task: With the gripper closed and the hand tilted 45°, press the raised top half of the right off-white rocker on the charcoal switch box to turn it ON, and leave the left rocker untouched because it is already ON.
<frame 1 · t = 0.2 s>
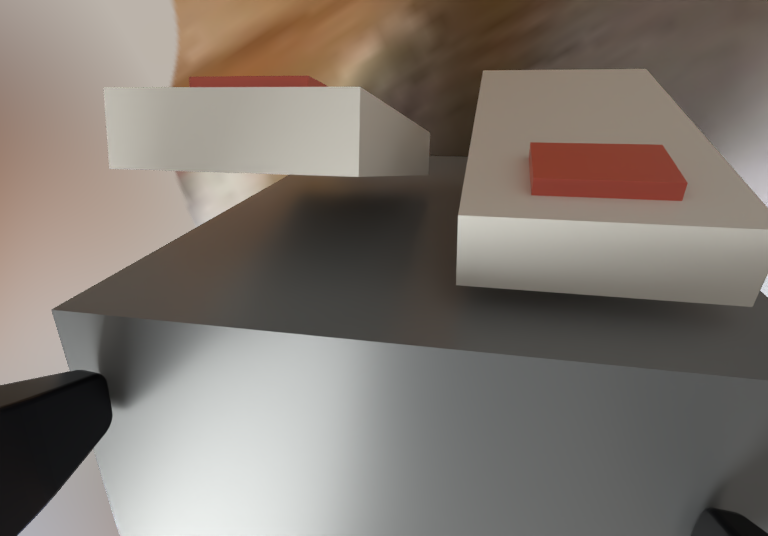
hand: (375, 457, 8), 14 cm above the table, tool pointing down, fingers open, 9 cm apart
switch box: (460, 218, 20), on the table
rocker 2: (317, 139, 11), point 9 cm above the table, hinge at -12.0°
rocker 1: (575, 144, 10), point 9 cm above the table, hinge at 12.0°
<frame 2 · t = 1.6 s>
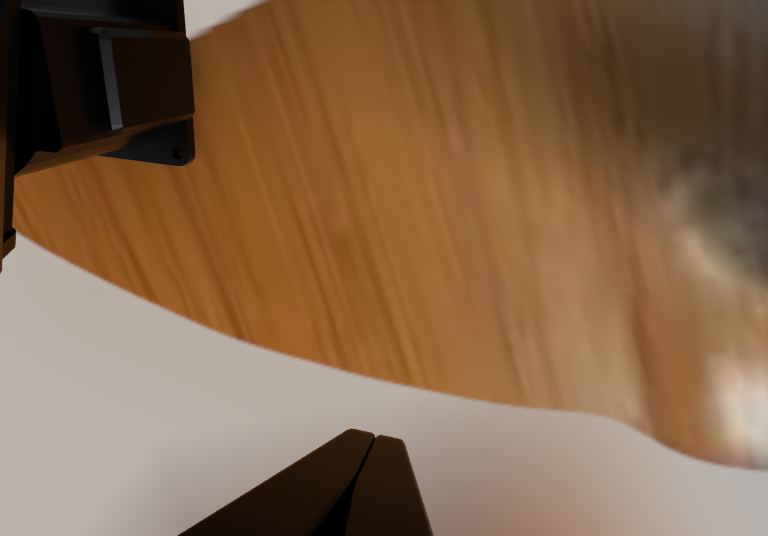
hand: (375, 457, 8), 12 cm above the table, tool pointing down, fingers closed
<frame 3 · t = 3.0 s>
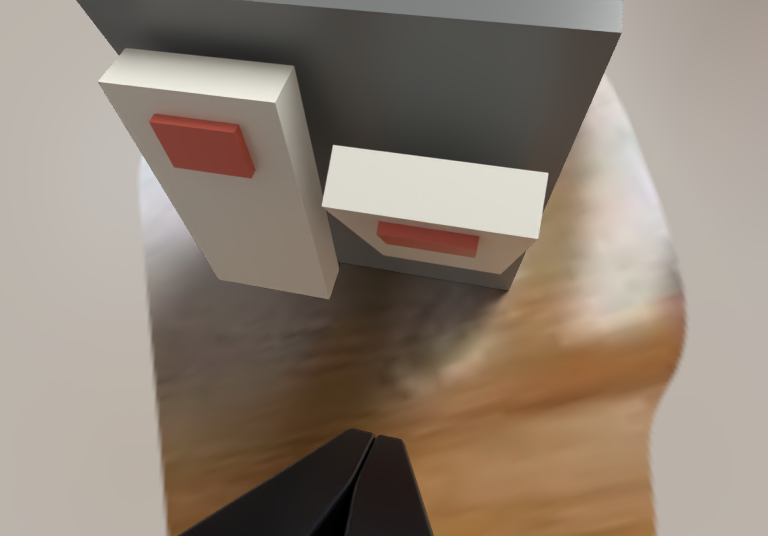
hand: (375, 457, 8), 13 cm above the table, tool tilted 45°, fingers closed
switch box: (395, 220, 23), on the table
rocker 2: (438, 232, 13), point 9 cm above the table, hinge at -16.1°
rocker 1: (245, 201, 14), point 9 cm above the table, hinge at 12.0°
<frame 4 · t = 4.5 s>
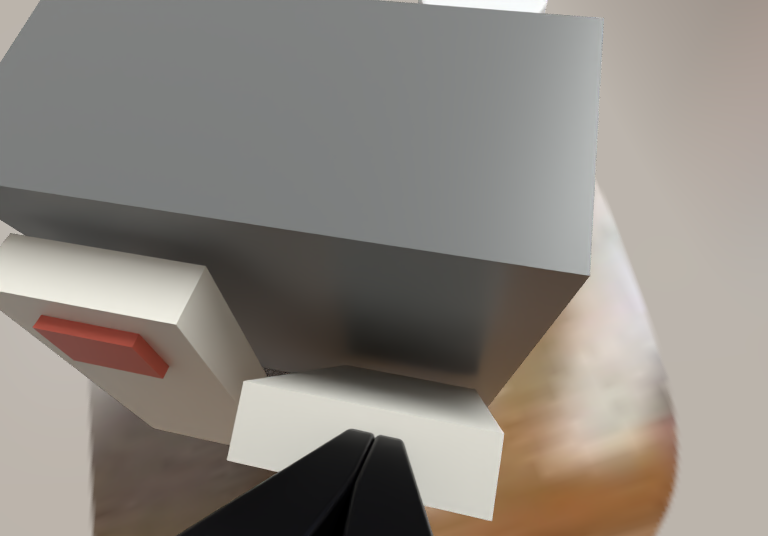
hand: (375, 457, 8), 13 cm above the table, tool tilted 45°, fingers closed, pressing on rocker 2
switch box: (362, 326, 22), on the table
rocker 2: (390, 419, 11), point 9 cm above the table, hinge at -14.4°, touching gripper
rocker 1: (170, 373, 12), point 9 cm above the table, hinge at 12.0°
supplement bottle: (461, 173, 25), on the table
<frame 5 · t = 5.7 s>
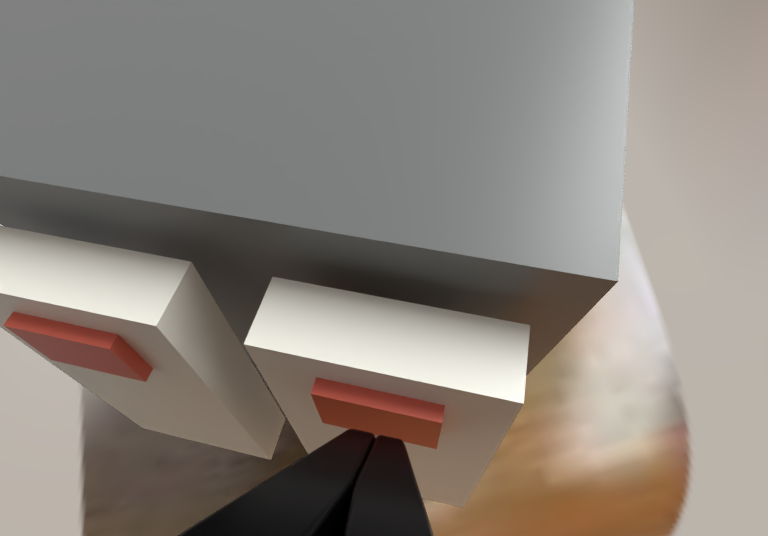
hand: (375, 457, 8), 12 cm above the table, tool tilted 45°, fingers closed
switch box: (364, 324, 21), on the table
rocker 2: (390, 427, 11), point 9 cm above the table, hinge at 12.1°
rocker 1: (157, 374, 11), point 9 cm above the table, hinge at 12.0°
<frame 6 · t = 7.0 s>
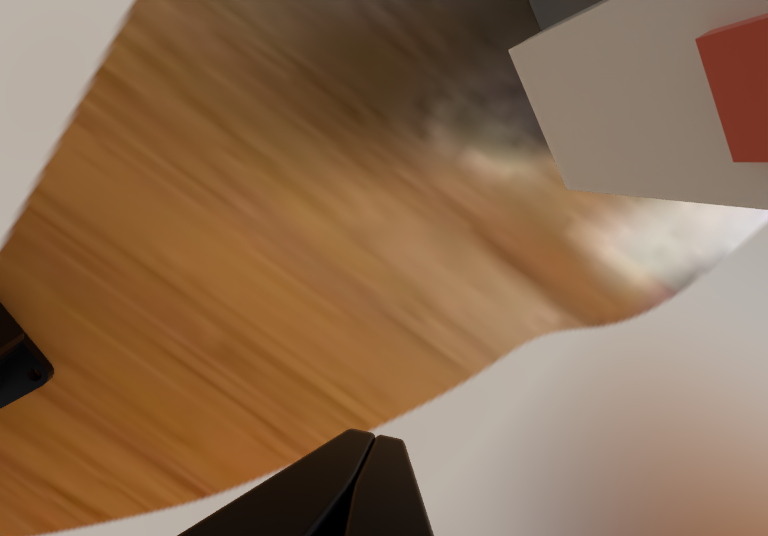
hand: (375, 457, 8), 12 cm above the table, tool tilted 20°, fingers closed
rocker 2: (663, 95, 9), point 9 cm above the table, hinge at 8.3°
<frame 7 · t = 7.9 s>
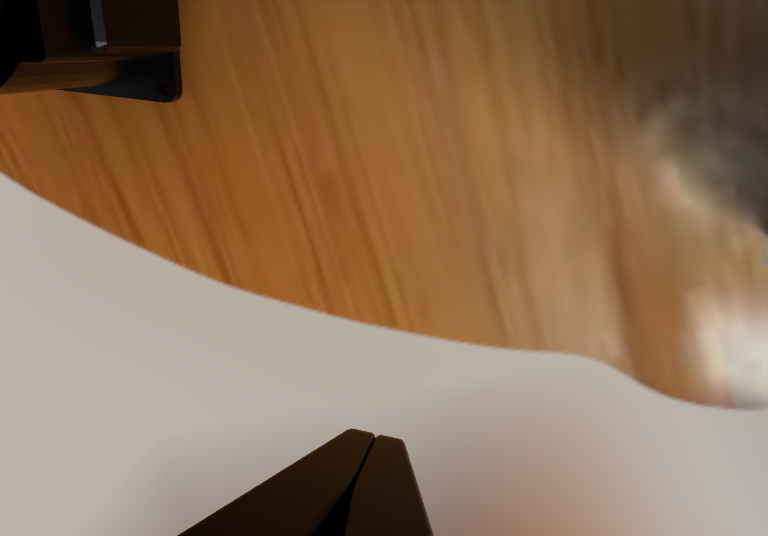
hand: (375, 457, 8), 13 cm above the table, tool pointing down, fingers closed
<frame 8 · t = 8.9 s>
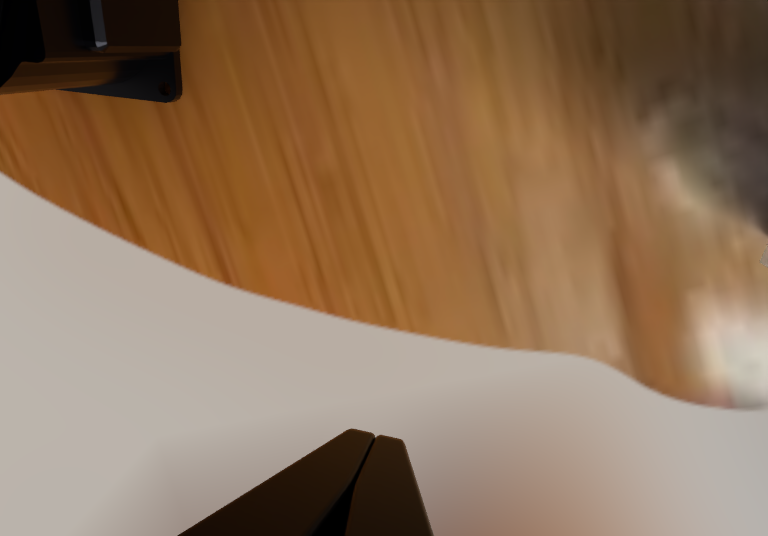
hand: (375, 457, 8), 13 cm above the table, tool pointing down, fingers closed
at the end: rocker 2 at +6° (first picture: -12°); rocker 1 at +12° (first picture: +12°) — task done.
